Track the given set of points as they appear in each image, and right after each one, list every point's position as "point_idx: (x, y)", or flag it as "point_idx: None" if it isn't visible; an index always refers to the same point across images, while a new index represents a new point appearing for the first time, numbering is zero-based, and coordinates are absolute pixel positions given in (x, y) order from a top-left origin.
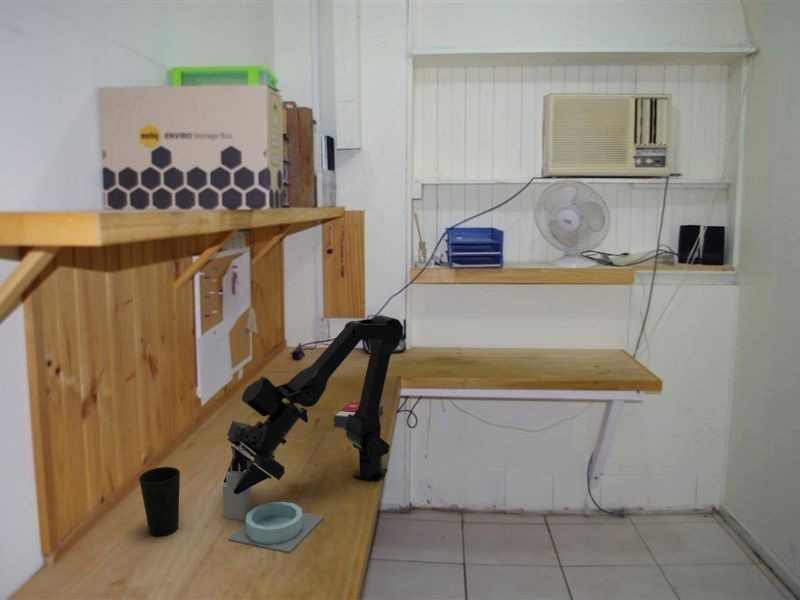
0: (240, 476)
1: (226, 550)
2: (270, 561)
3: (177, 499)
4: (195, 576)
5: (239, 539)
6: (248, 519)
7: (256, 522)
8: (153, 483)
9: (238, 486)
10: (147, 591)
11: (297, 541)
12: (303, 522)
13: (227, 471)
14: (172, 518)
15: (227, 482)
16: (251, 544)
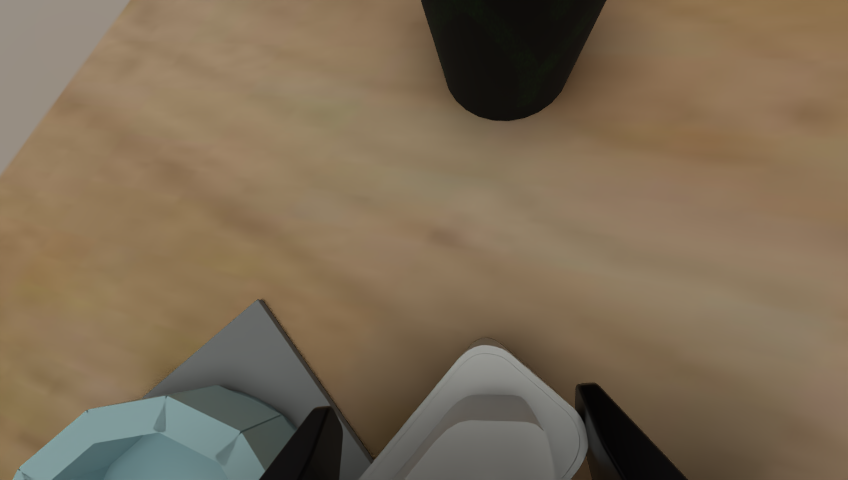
0: None
1: (195, 274)
2: (18, 414)
3: (453, 2)
4: (112, 141)
5: (219, 344)
6: (175, 418)
7: None
8: None
9: (267, 469)
10: (133, 8)
11: None
12: None
13: (676, 474)
14: (438, 47)
15: (475, 400)
16: (163, 383)
